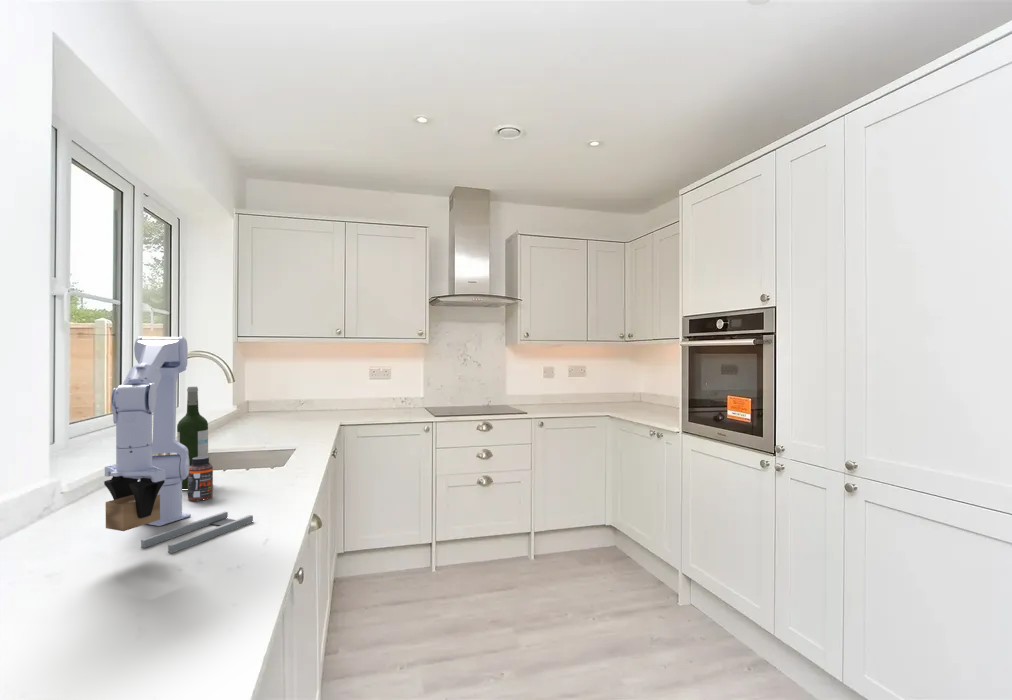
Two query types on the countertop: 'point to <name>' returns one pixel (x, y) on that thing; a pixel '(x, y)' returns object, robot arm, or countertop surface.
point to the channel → (212, 520)
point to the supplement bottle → (200, 479)
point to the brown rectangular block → (128, 514)
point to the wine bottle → (193, 430)
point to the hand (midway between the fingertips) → (134, 515)
